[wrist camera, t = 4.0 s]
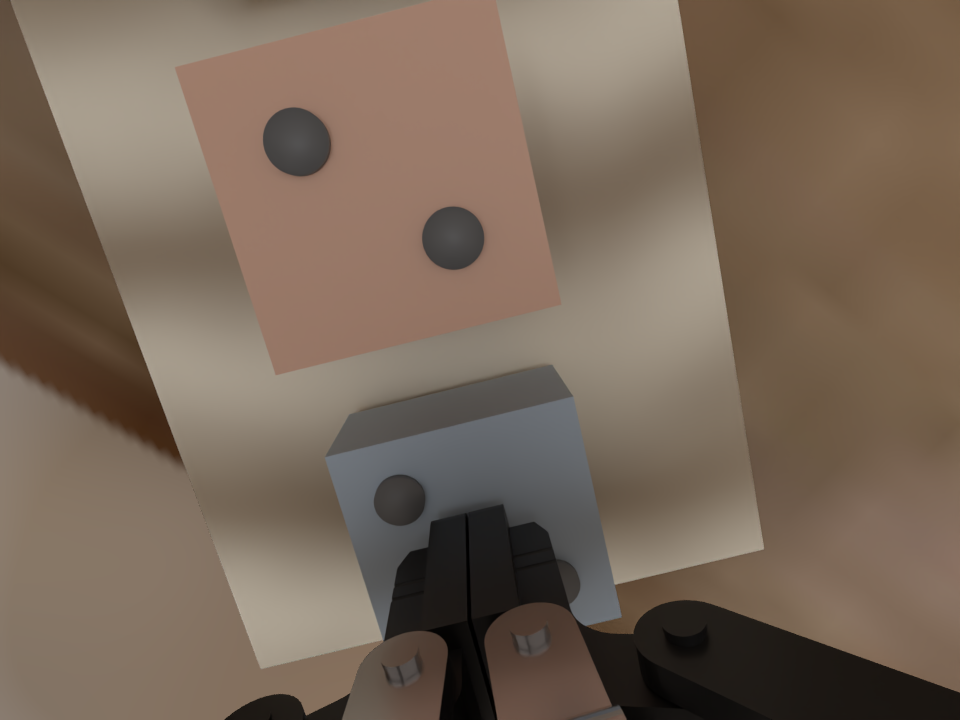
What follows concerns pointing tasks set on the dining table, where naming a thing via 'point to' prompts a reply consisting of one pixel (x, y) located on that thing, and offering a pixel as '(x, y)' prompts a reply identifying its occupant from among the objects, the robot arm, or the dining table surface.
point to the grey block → (473, 480)
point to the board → (435, 360)
